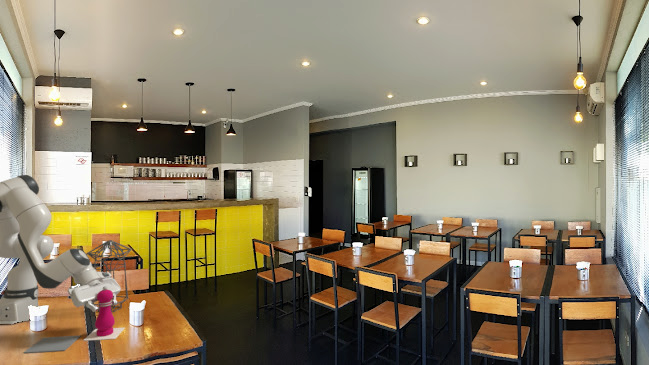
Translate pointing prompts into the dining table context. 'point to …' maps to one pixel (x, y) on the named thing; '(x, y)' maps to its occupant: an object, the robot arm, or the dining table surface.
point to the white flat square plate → (113, 336)
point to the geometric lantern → (104, 245)
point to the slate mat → (52, 344)
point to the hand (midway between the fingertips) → (105, 307)
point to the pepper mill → (104, 313)
